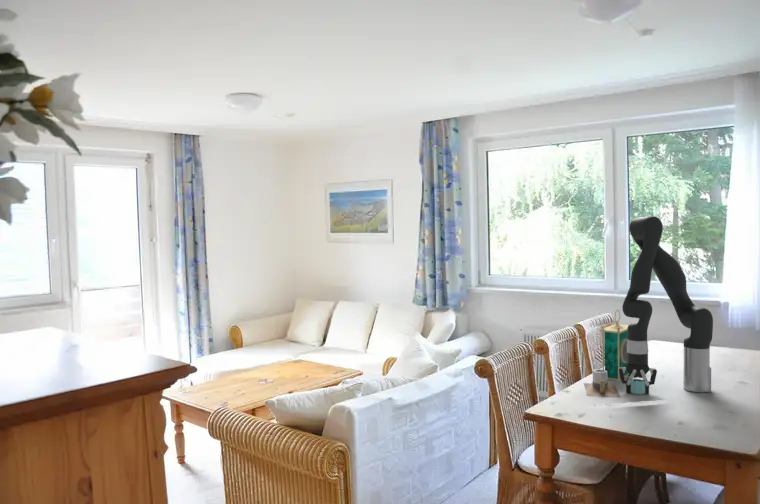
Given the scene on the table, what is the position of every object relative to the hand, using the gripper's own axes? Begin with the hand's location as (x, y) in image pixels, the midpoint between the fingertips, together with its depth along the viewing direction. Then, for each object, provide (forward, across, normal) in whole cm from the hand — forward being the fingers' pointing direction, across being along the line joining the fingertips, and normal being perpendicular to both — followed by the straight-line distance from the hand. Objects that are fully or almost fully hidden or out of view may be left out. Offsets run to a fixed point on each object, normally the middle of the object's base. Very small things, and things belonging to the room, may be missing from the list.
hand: (637, 394), depth 230 cm
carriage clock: (+1, +4, -26) cm, 26 cm away
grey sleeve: (0, +13, -6) cm, 15 cm away
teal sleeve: (+1, 0, 0) cm, 1 cm away
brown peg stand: (+1, +13, -2) cm, 13 cm away
